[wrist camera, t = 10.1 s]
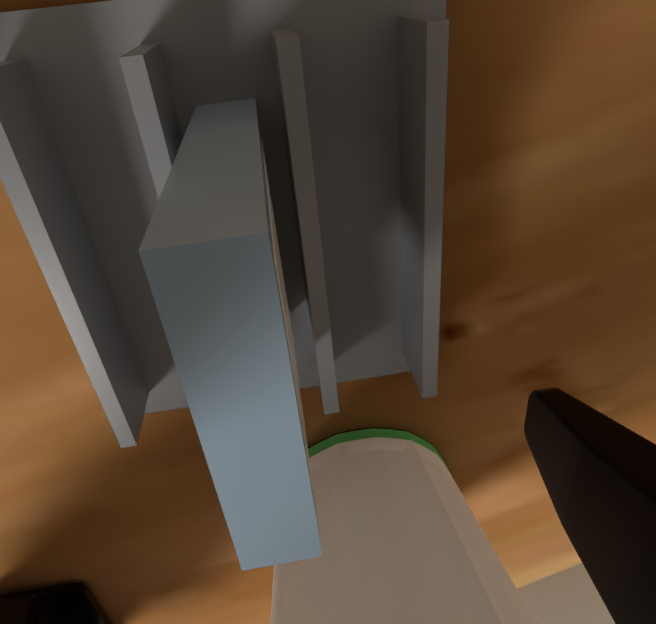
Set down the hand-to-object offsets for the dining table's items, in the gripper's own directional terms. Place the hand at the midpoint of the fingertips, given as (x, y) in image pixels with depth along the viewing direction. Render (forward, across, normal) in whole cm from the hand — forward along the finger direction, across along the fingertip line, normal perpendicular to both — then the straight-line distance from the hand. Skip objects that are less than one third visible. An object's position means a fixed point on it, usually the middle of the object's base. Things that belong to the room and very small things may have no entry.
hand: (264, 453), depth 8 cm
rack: (+10, 0, 0) cm, 10 cm away
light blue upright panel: (+9, 0, 0) cm, 9 cm away
